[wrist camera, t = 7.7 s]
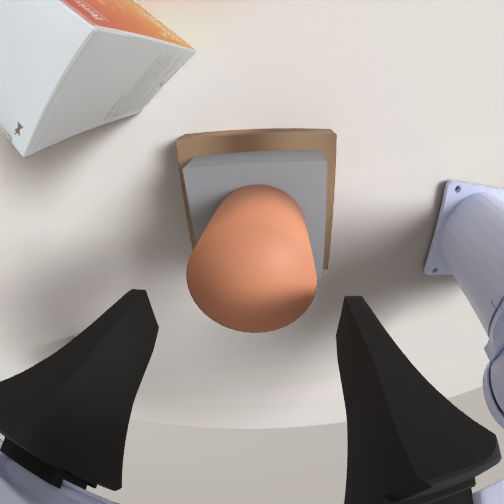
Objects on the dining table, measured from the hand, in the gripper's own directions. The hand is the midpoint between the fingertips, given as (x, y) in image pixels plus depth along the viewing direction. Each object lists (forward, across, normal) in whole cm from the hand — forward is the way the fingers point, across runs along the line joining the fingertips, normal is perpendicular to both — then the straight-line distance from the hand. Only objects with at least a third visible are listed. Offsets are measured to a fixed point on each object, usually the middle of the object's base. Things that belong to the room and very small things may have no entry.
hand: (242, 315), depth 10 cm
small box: (+11, +8, -11) cm, 17 cm away
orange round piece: (+6, 0, 0) cm, 6 cm away
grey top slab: (+9, 0, 0) cm, 9 cm away
